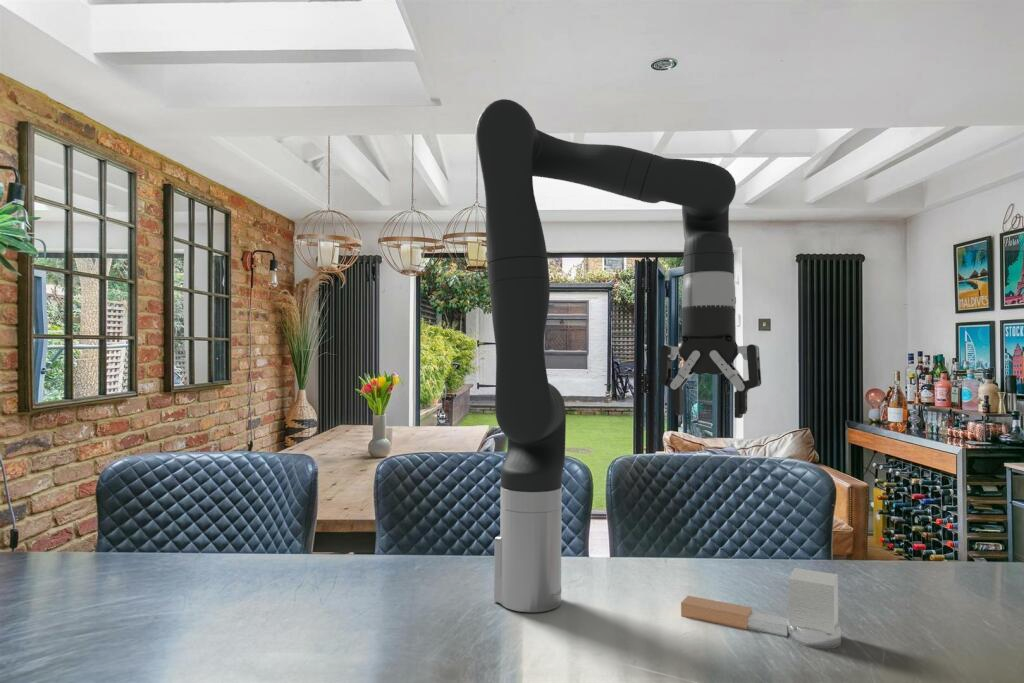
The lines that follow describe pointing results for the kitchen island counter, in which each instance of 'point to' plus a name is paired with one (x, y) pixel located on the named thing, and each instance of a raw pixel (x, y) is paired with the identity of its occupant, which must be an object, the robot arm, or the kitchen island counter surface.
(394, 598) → the kitchen island counter surface
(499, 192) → the robot arm
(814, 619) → the light grey block
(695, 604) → the ratchet
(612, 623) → the kitchen island counter surface
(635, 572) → the kitchen island counter surface
